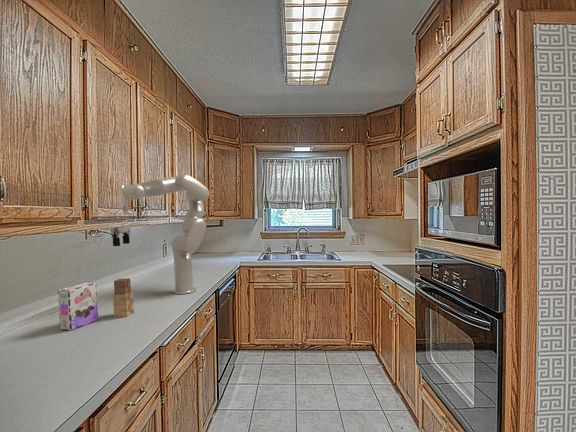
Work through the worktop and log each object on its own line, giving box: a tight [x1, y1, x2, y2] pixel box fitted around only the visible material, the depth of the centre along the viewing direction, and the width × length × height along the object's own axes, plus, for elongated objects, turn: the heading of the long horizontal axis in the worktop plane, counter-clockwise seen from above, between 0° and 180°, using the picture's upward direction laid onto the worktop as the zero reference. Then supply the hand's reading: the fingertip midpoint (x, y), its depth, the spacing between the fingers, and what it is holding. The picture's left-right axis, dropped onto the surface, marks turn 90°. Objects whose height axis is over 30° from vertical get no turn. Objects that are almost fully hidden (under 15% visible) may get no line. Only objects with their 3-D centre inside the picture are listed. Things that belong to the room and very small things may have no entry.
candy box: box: [57, 282, 99, 332], centre depth 153 cm, size 14×6×16 cm, turn 161°
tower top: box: [112, 290, 134, 307], centre depth 166 cm, size 6×6×5 cm
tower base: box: [113, 302, 135, 318], centre depth 166 cm, size 6×6×5 cm
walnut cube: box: [113, 278, 132, 294], centre depth 165 cm, size 5×5×6 cm
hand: (121, 244), depth 182 cm, fingers open, 9 cm apart
